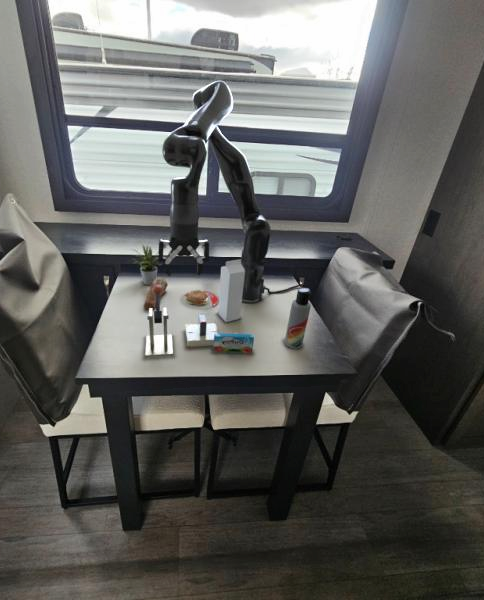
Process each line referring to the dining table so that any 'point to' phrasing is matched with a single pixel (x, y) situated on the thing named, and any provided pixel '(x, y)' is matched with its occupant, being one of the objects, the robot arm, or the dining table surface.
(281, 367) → the dining table surface
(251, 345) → the blue flat cardboard box
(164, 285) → the bread
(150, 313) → the lever bracket
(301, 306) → the lotion bottle
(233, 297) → the milk
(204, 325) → the black red-tipped box
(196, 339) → the panel
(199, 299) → the hamburger
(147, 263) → the house plant
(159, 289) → the red ball lever
